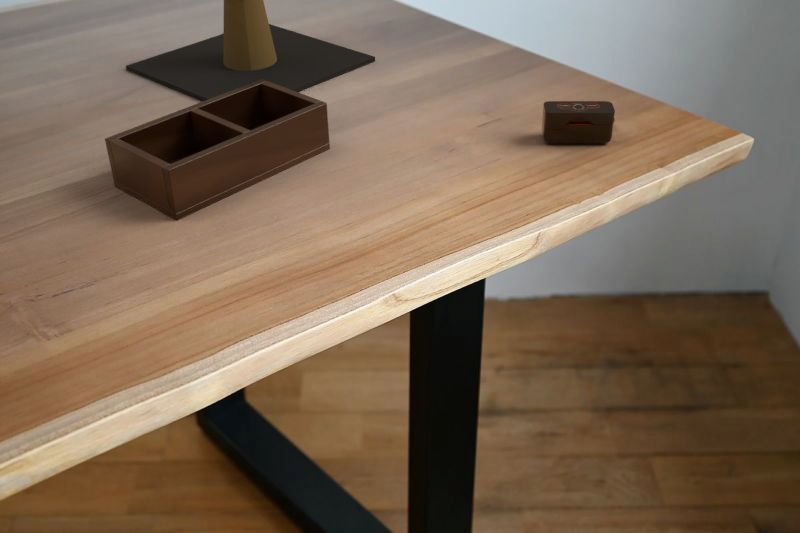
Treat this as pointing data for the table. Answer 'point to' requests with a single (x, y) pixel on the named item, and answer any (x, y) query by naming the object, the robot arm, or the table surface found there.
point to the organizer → (217, 147)
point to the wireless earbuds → (577, 121)
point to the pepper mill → (247, 36)
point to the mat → (294, 69)
